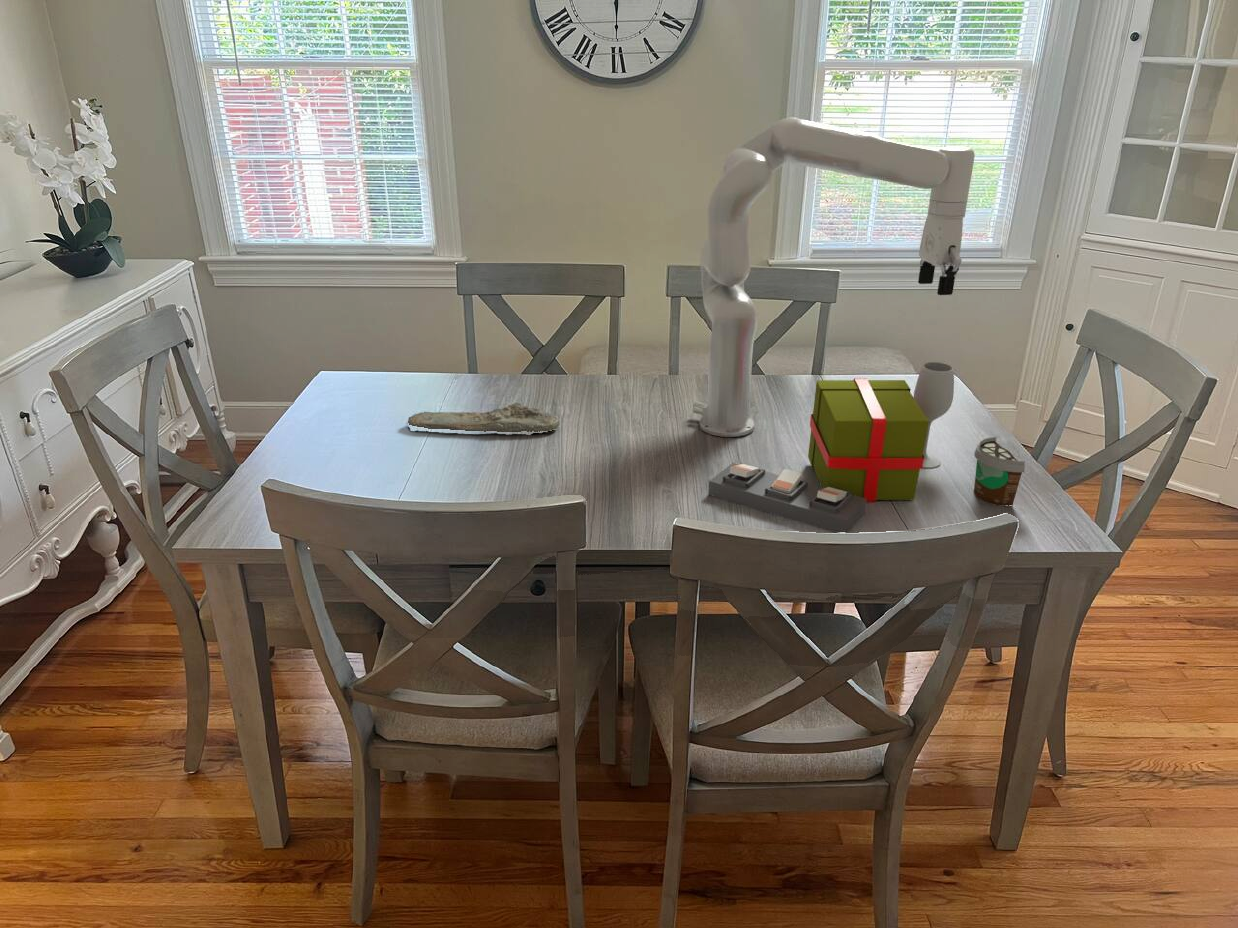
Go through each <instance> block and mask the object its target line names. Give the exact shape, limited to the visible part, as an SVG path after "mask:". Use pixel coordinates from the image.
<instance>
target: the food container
mask: <svg viewBox="0 0 1238 928" xmlns="http://www.w3.org/2000/svg"><path fill="white" fill-rule="evenodd" d="M997 438H998V437H997V436H991V437H987V438H984V439H981V440H980V441H979V443H978V444H977V445H976V448H975V450H974V452H973V455H974V458H975V459H976V467H975V476H974V486H973V487H974V488H973V494H974V496H975V497H977V499H979V500H981V501H983V502H984V503H987V502H988V503H987V504H990V503H991V504H990V505H993V504H995V506H998V505H1004V506H1003V507H1006V506H1005V505H1008V506H1009V505H1012V506H1014V502H1015V498H1016V494H1017V491H1018V488H1019V484H1020V481H1021V477H1022V474H1023V473H1025V467H1026V464H1025V463H1026V461H1025V460H1017V459H1016V458H1015V456H1014V455H1013V454H1012V453H1011V452H1010V450H1008V449H1006V448H1004V447H1002V446H1001V445H1000V444H999V443H998V442H997ZM1008 506H1007V507H1008ZM1009 507H1010V506H1009Z"/></svg>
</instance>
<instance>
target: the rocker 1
mask: <svg viewBox="0 0 1238 928" xmlns="http://www.w3.org/2000/svg"><path fill="white" fill-rule="evenodd" d="M739 464H740V463H739ZM759 468H760V467H757V466H752V465H750V464H749V465H748V464H744V463H741V464H740V465H735V466H732V467H730V472H729V473H731V474H735V475H739V476H742V477H750V476H753V475H756V474H758V472H759Z"/></svg>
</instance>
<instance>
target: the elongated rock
mask: <svg viewBox="0 0 1238 928" xmlns="http://www.w3.org/2000/svg"><path fill="white" fill-rule="evenodd" d="M407 422H408V423H409V425H412V426H417V427H424V428H428V429H450V430H465V431H484V432H486V431H497V432H521V431H527V432H529V431H530V432H532V431H534V432H538V431H539V432H540V431H550V430H553V429H556V428H557V427H558V428H559V425H560V420H559V418H558V417H557V416H556V415H552V414H551V413H550V412H546V411H544V410H542V409H541V408H536V407H533V408H531V407H530V406H527V405H526V406H525V405H522V404H521V402H514V403H512V404H509V405H507V406H505V407H503V408H496V409H493V410H491V411H484V412H478V411H477V412H475V411H467V412H466V411H461V412H454V411H449V412H447V411H438V412H430V411H423V412H417V413H414V414H413V415H411V416H409V417H408V420H407ZM558 428H557V429H558Z"/></svg>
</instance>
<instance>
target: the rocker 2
mask: <svg viewBox="0 0 1238 928" xmlns="http://www.w3.org/2000/svg"><path fill="white" fill-rule="evenodd" d="M779 475H780V476H779V477H778V478H777V480H776V481H775V482H774V484H773V485H772V489H773V490H776V491H780V492H784V493H787V494H791V493H792V492H793V490H794V489H795V488H796V486H797V485H798V483H799V482H800V480H803V473H802V472H797V471H794V470H790V469H787V468H784V469H783V470H782V471H781V473H780V474H779Z"/></svg>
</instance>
